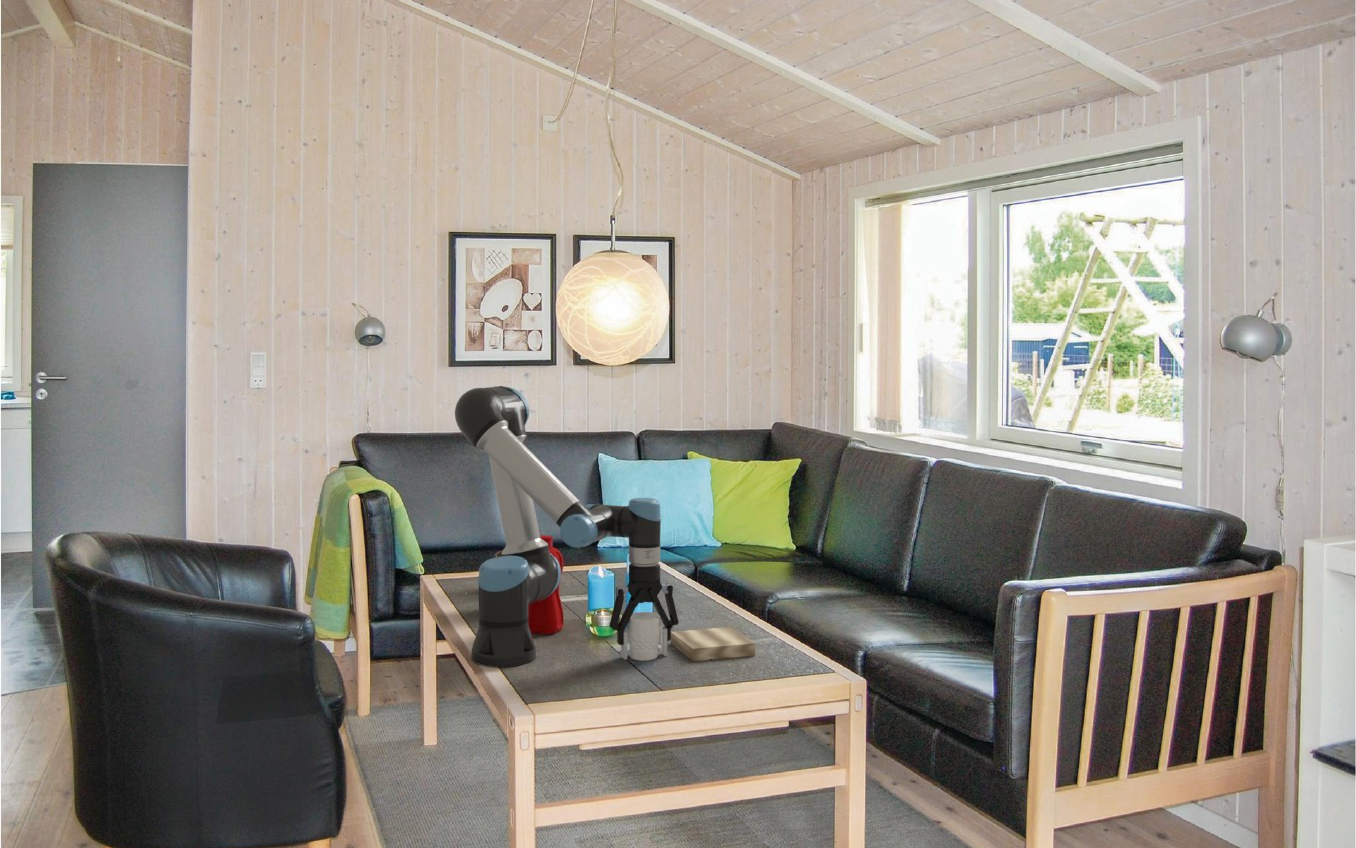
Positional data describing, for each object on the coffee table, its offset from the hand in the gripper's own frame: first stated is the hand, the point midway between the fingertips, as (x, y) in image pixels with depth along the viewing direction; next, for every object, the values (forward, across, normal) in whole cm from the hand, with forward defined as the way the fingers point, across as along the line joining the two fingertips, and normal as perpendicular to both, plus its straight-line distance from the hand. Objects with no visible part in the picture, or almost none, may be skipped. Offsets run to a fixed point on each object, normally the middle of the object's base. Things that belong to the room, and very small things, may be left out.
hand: (644, 656), depth 266 cm
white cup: (0, 0, 0) cm, 0 cm away
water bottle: (0, -17, +31) cm, 35 cm away
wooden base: (0, +18, +1) cm, 18 cm away
